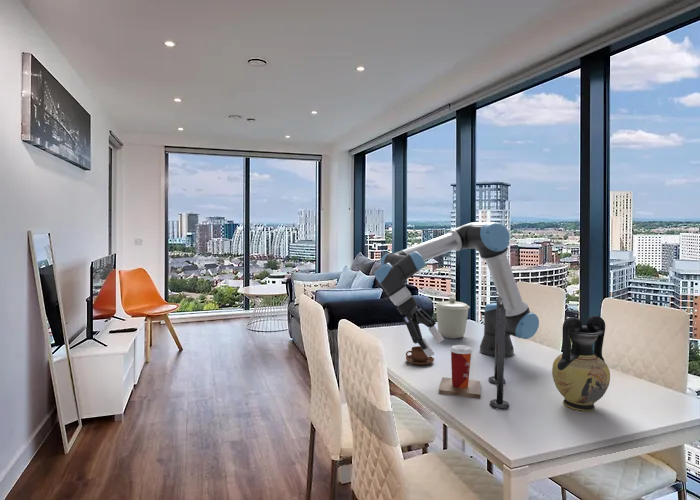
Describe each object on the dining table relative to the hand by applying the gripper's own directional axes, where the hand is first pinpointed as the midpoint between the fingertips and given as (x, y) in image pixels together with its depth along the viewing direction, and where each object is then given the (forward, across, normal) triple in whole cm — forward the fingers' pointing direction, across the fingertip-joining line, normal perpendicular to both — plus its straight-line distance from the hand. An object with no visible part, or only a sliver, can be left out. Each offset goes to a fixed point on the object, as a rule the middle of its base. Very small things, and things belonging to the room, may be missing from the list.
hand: (436, 348), depth 169 cm
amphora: (+38, +1, +32) cm, 50 cm away
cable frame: (+24, +2, +11) cm, 26 cm away
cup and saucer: (+6, -19, -20) cm, 28 cm away
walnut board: (+16, +4, +1) cm, 16 cm away
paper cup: (+15, +4, +1) cm, 16 cm away
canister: (+14, -71, -24) cm, 76 cm away
